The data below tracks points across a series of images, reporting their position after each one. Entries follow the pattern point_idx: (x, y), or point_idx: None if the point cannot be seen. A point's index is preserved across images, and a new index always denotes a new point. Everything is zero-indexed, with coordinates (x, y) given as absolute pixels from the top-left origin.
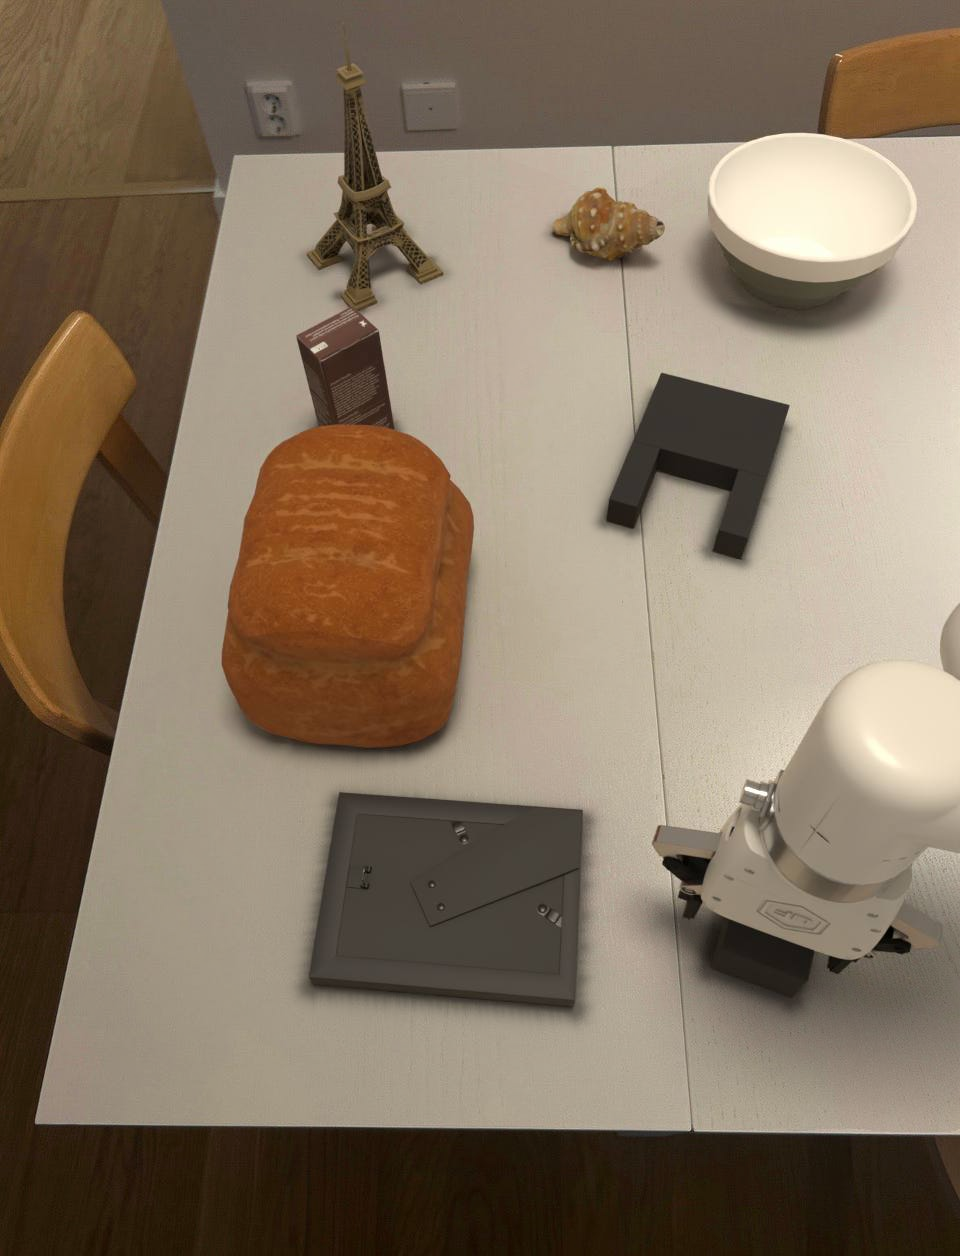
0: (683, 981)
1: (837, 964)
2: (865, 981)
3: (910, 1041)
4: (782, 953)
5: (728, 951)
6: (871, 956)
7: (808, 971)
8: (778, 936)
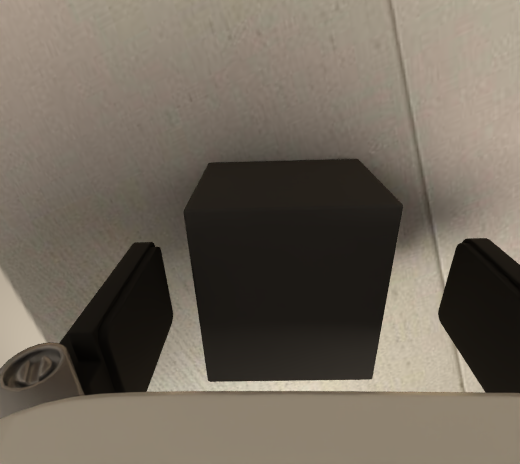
0: (404, 114)
1: (128, 276)
2: (110, 232)
3: (4, 169)
4: (257, 247)
5: (386, 207)
6: (19, 363)
7: (189, 232)
8: (355, 406)
